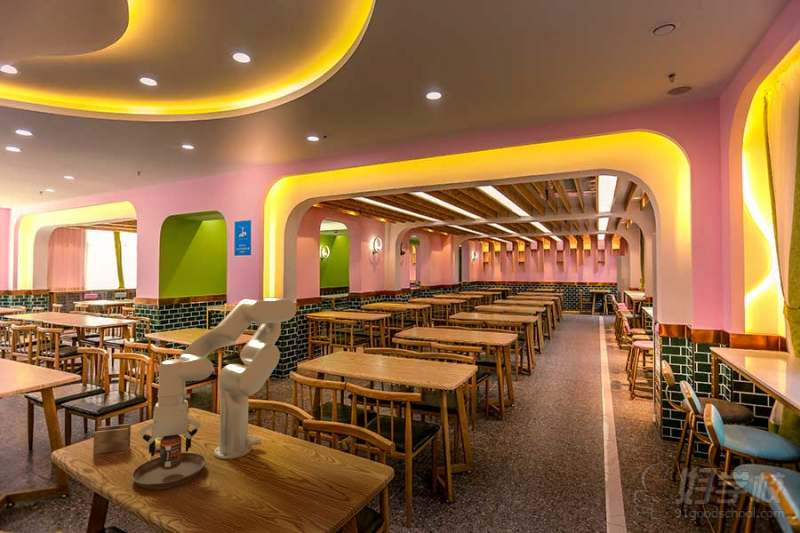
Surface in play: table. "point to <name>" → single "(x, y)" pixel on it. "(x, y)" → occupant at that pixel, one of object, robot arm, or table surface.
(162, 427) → the robot arm
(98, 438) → the napkin holder
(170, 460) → the supplement bottle
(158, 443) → the donut
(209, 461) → the table surface
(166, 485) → the plant saucer
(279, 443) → the table surface
